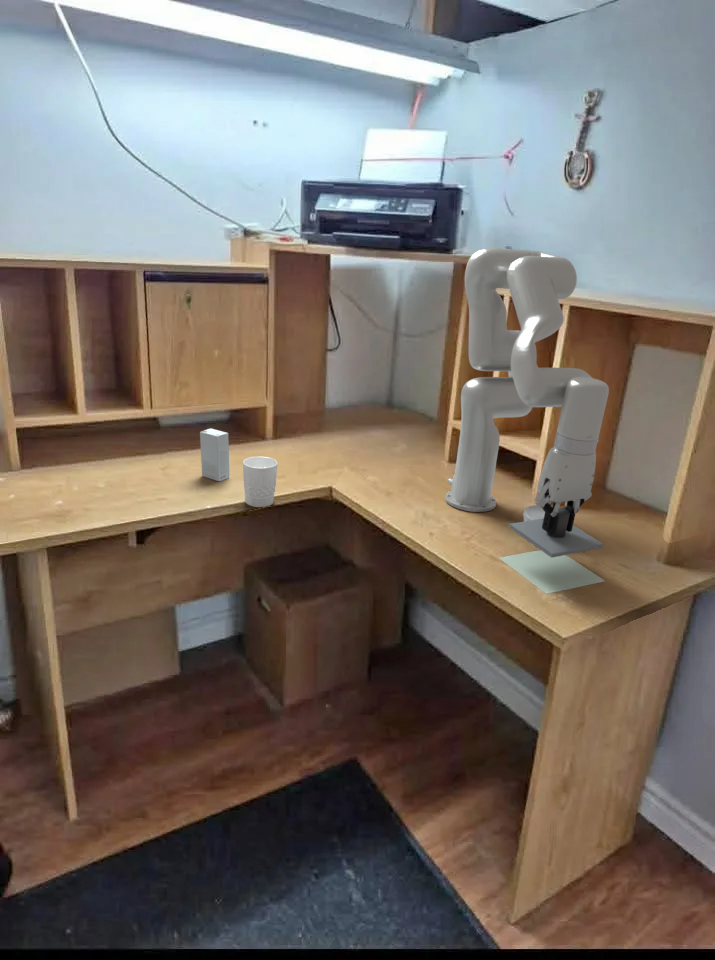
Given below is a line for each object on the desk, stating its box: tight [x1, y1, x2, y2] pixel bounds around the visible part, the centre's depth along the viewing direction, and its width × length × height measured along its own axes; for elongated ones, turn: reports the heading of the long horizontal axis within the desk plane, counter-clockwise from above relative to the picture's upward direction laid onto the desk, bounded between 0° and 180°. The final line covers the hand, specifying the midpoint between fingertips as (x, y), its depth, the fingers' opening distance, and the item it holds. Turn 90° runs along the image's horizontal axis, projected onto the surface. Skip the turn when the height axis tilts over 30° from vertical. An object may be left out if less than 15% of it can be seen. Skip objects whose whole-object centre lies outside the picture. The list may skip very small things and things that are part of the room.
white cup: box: [242, 456, 278, 508], centre depth 156 cm, size 8×8×10 cm
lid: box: [508, 507, 604, 558], centre depth 132 cm, size 13×13×6 cm
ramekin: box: [522, 504, 553, 522], centre depth 151 cm, size 11×11×5 cm
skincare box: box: [199, 428, 231, 482], centre depth 168 cm, size 6×4×12 cm
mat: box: [498, 549, 606, 595], centre depth 135 cm, size 15×15×1 cm
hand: (556, 529), depth 133 cm, fingers closed on lid, 3 cm apart
